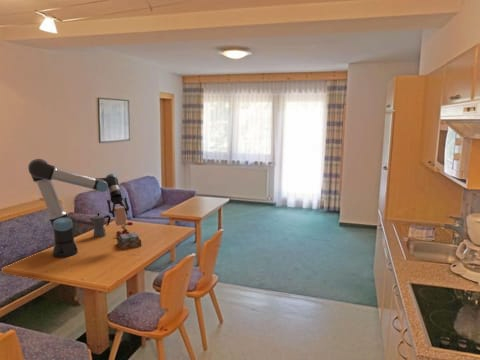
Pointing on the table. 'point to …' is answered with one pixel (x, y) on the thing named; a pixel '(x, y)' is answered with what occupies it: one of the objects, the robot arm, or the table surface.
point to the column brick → (120, 215)
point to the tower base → (130, 244)
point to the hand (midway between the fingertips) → (121, 219)
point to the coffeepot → (99, 225)
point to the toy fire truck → (124, 229)
